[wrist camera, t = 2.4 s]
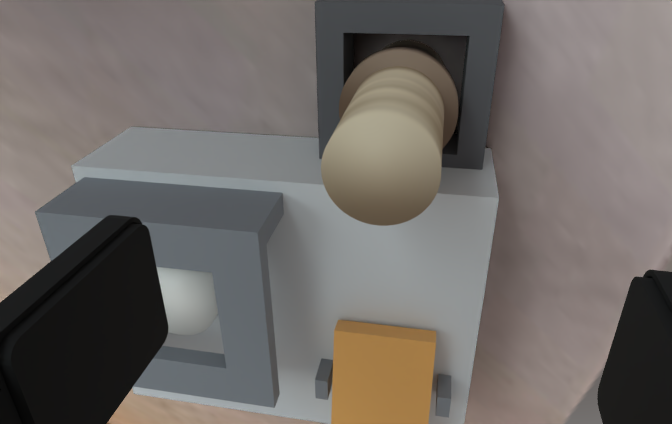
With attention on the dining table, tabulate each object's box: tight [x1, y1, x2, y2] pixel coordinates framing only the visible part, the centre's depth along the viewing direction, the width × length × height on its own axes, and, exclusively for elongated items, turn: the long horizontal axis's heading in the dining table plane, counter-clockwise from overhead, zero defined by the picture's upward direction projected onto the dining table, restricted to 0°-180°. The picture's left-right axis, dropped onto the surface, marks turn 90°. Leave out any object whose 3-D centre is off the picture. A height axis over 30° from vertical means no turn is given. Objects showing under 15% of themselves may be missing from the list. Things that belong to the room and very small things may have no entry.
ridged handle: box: [321, 40, 458, 226], centre depth 19 cm, size 4×4×10 cm
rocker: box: [331, 320, 436, 424], centre depth 24 cm, size 7×4×1 cm, turn 1°
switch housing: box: [35, 127, 499, 424], centre depth 26 cm, size 14×18×8 cm
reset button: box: [157, 267, 218, 335], centre depth 24 cm, size 4×4×4 cm
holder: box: [315, 0, 504, 170], centre depth 22 cm, size 7×7×2 cm
